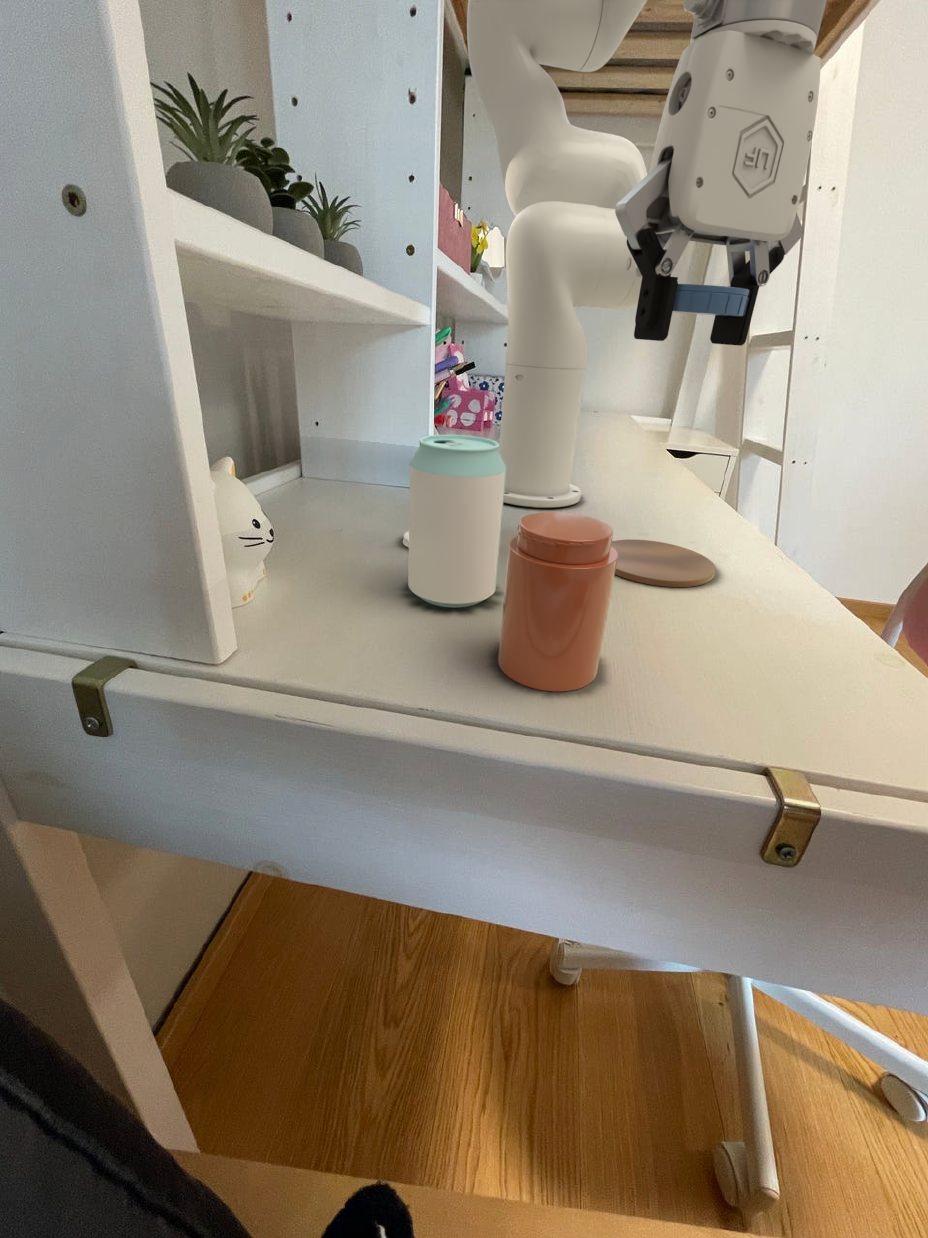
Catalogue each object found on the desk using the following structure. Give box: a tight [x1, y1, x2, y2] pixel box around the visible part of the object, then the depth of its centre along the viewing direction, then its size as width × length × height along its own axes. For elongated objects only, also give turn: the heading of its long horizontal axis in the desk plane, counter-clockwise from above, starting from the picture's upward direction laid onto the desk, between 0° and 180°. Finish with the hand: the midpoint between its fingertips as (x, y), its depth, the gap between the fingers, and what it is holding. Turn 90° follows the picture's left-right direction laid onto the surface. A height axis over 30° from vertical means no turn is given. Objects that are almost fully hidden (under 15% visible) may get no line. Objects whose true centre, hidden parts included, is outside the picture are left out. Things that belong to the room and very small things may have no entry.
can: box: [407, 434, 506, 609], centre depth 45 cm, size 7×7×12 cm
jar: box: [497, 511, 618, 692], centre depth 36 cm, size 6×6×9 cm
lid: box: [672, 283, 749, 317], centre depth 43 cm, size 7×7×2 cm
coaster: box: [611, 539, 717, 588], centre depth 56 cm, size 11×11×1 cm
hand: (689, 339), depth 45 cm, fingers closed on lid, 6 cm apart
